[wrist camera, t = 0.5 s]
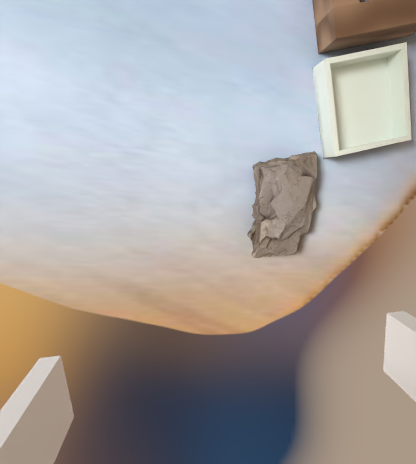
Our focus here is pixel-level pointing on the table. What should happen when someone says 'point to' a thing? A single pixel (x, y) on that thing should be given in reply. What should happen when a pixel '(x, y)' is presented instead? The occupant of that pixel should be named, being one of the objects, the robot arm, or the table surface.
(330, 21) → the bore block
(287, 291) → the table surface
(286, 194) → the rock
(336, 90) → the tray
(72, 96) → the table surface
